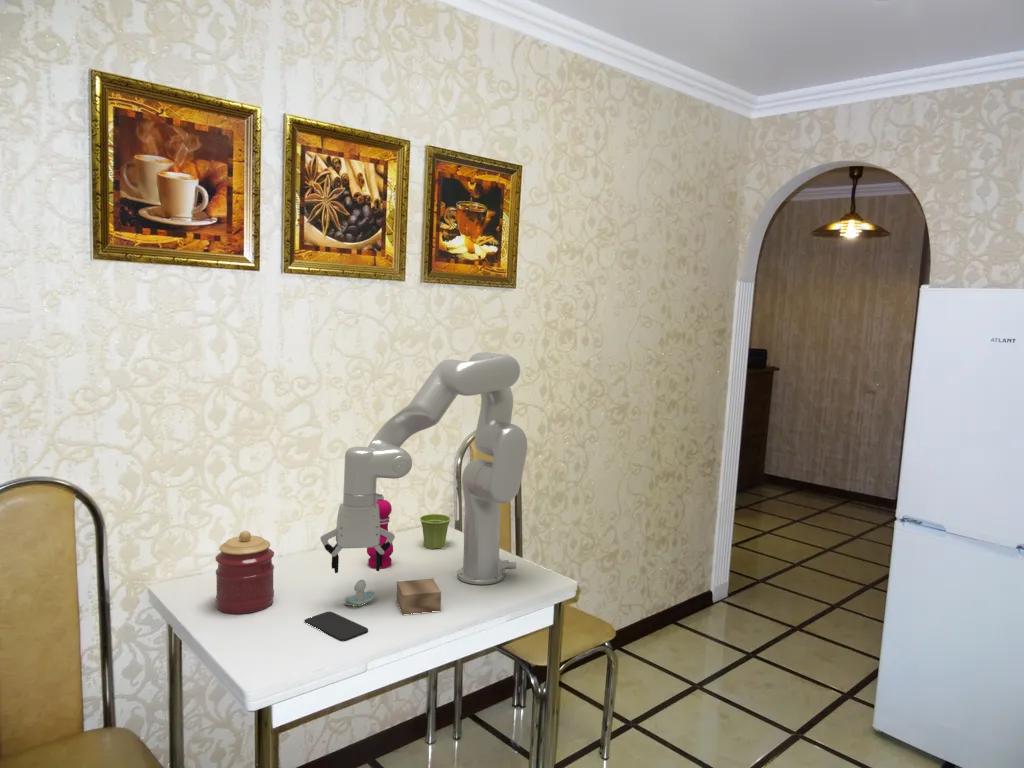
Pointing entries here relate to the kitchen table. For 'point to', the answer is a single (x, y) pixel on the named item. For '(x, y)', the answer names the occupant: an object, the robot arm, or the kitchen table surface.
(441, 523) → the plant pot
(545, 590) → the kitchen table surface
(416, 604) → the block
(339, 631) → the phone
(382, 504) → the pepper mill
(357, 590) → the pacifier
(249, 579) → the canister
